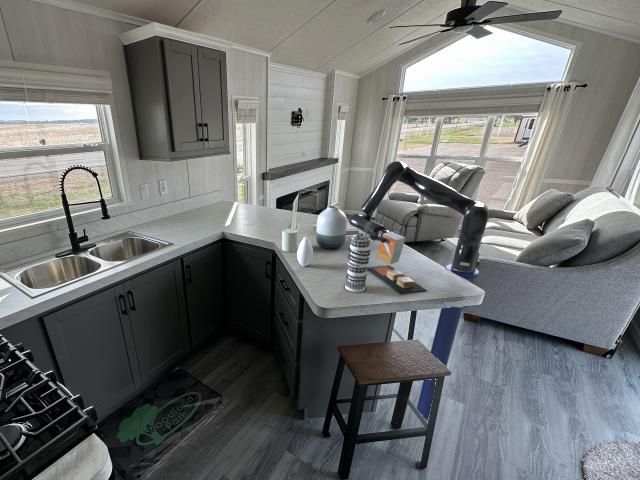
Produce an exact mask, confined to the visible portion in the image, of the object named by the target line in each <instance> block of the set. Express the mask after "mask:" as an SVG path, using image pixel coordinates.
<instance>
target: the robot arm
mask: <svg viewBox="0 0 640 480" xmlns="http://www.w3.org/2000/svg"><path fill="white" fill-rule="evenodd" d="M397 181H398V182H400V183H402V184H405V185H406V186H409V187H410V188H411V189H412V190H414V191H415V192H416V193H417V194H419V195H421V196H422V197H423V198H425V199H427V200H429V201H430V202H433V203H435V204H437V205H440V206H443V207H446V208H450V209H452V210H454V211H456V212H458V213H459V214H460V215H462V216H463V219H462V224H461V228H460V230H459V235H458V240H457V242H456V243H457V244H456V247H455V250H454V251H455V252H454V256H453V260H452V263H451V264H452V266H451V268H452V269H453V270H455V271H457V272H461V273H472V272H473V271H475V269H477V267H479V266H480V264H481V260H480V259H479V257H480V252H479V251H480V247H481V244H482V240H483V237H484V234H485V232H486V228H487V224H488V221H489V216H490V212H489V207H488V206H487V205H485V204H484V203H482V202H480V201H477V200H474V199H472V198H470V197H467V196H465V195H464V194H461V193H459V192H458V191H457V190H455V189H454V188H452V187H450V186H448V185H446V184H445V183H443V182H441V181H439V180H437V179H434V178H432V177H430V176H427V175H426V174H422V173H419V172H417V170H414V169H413V168H412V167H410V166H409V165H407V164H406V163H404V162H403V161H400V160H399V161H398V160H396V161H392V162H390V163H389V164H388V165H387V166H386V168H385V170H384V173H383V175H382V176H381V178H380V180H379V182H378V183H377V185H376V186H375V188H373V190H372V192H370V194H369V195H368V197H367V198H366V199H365V201H364V202H363V203H362V205H361V207H360V210H361V211H362V213H364V214H363V215H361V214H360V213H352V214H351V215H350V216H349V218H348V223H349V225H350V226H352V227H354V228H356V229H358V230H361V231H362V233H364V234H367V235H368V236H369V237H370V238H371V240H372V241H377V242H380V243H381V242H382V243H385V240H386V239H385V238H384V237H382V236H383V234H385V233H388V232H393V233H396V234H399V235H401V236H402V233H401V232H399V231H397V230H394V229H392V230H387V229H386V227H385V226H384V225H383V224H381V223H379V222H377V221H374V220H371V219H372V216H373V214H374V212H375V211H376V210H377V208H378V207H379V206H380V204H381V203H382V201H383V200H384V198H385V196H386V195H387V193H388V192H389V191H390V189H391V188H392V187H393V185H395V184H396V182H397Z"/></svg>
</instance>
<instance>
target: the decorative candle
mask: <svg viewBox="0 0 640 480" xmlns="http://www.w3.org/2000/svg"><path fill="white" fill-rule="evenodd" d="M350 240H351V241H350V244H349V246H348V248H347V249H348V252H347V264H348V268H347V272H346V275H345V289H346V290H348V291H350V292H354V293H361V292H364V291H365V289H366V283H367V281H366V280H367V275H368V274H367V268H368V265H369V262H370V261H369V260H370V256H371V251H372V250H371V249H370V244H371V240H372V239H371V238H370V237H369V236H368V235H367V234H366V233H365V232H357V233H354V234H353V235H352V236H350Z"/></svg>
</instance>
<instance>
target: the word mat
mask: <svg viewBox="0 0 640 480" xmlns="http://www.w3.org/2000/svg"><path fill="white" fill-rule="evenodd" d="M366 270H368V271H369V272H371V273H372V274H374V275H375V276H376V277H377V278H379V279H380V280H381V281H383V282H384V283H386V284H387V285H388V286H390V287H391V288H392V289H393V290H394V291H396V292H398V293H399V294H400V295H403V294H412V293H420V292H421V293H422V292H427V290H426V289H425V288H424V287H422V286H421V285H420V284H418V283H416V282H415V283H414V287H411V288H402V287H401V286H399V285H398V284H397V280H395V281H392V280H391V279H390V278H388V277H387V271H389V270H396V269H395V268H393V267H392V266H391V265H390V264H388V265H380V266H371V267H366ZM403 277H407V276H405V275H404V274H403Z"/></svg>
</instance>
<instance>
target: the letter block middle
mask: <svg viewBox="0 0 640 480" xmlns="http://www.w3.org/2000/svg"><path fill="white" fill-rule="evenodd" d="M403 275H404V272H402V271H400V270H398V269H395V270H389V271H387V277H388V278H390V279H391V280H392V281H395V280H397V279H398V278H399V277H403Z"/></svg>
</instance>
